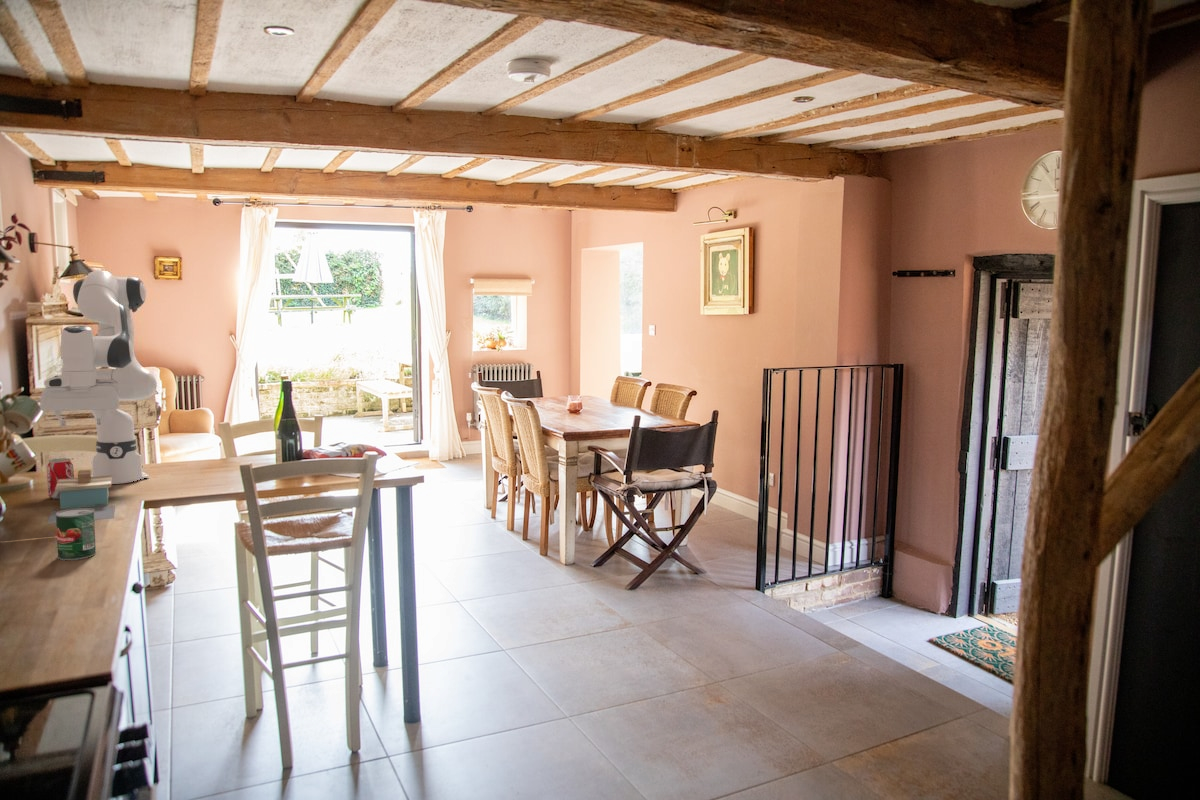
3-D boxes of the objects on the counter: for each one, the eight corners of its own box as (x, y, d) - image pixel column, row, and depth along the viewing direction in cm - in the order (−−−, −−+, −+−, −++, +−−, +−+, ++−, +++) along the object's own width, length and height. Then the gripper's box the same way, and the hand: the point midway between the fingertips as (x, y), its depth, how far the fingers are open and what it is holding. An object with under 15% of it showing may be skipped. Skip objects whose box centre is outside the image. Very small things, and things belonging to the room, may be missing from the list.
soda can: (65, 500, 252) (63, 462, 250) (42, 499, 252) (40, 461, 251) (79, 495, 259) (78, 458, 258) (58, 494, 259) (56, 457, 258)
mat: (51, 512, 237) (51, 511, 237) (115, 507, 245) (115, 505, 245) (46, 525, 223) (46, 524, 223) (113, 519, 231) (113, 517, 231)
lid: (59, 482, 250) (58, 469, 249) (112, 478, 257) (111, 466, 256) (55, 491, 238) (54, 478, 237) (110, 487, 244) (110, 474, 244)
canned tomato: (52, 561, 192) (50, 516, 191) (64, 552, 200) (62, 508, 199) (89, 559, 195) (87, 515, 193) (100, 550, 202) (98, 507, 201)
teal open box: (63, 501, 250) (62, 482, 249) (108, 497, 256) (108, 479, 255) (60, 510, 240) (59, 490, 239) (107, 506, 245) (106, 486, 245)
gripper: (119, 378, 251) (121, 421, 253) (40, 379, 241) (42, 425, 243) (119, 380, 246) (121, 424, 247) (38, 381, 236) (40, 428, 237)
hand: (81, 425), depth 245 cm, fingers open, 8 cm apart
